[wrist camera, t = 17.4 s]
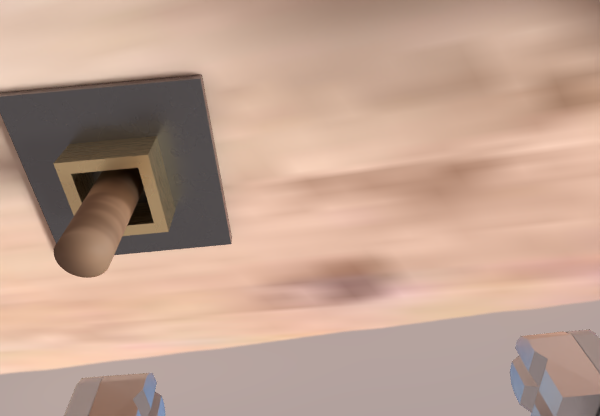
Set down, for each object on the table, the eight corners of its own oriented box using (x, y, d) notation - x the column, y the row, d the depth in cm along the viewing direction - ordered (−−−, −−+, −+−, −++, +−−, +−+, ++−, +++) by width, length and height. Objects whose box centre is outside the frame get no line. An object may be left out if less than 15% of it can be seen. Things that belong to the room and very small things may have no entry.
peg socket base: (201, 74, 38) (194, 93, 34) (231, 237, 47) (228, 267, 43) (-1, 92, 38) (-31, 113, 34) (67, 253, 46) (49, 284, 43)
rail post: (139, 157, 40) (101, 232, 31) (150, 194, 42) (116, 274, 33) (97, 161, 40) (45, 237, 31) (109, 197, 42) (64, 279, 33)
